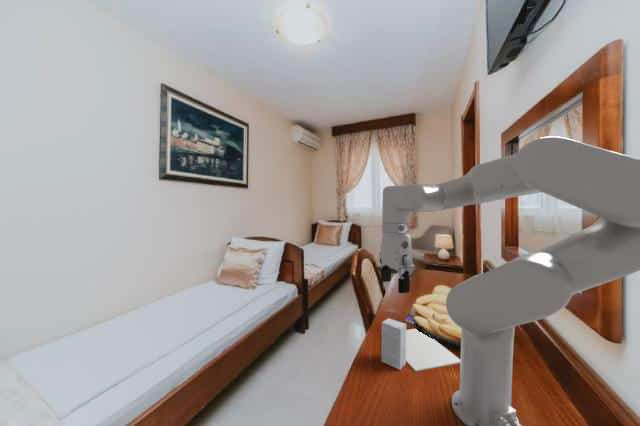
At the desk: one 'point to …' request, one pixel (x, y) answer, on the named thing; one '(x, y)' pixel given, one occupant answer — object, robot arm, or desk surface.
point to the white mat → (426, 352)
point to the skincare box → (394, 343)
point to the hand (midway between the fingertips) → (394, 286)
